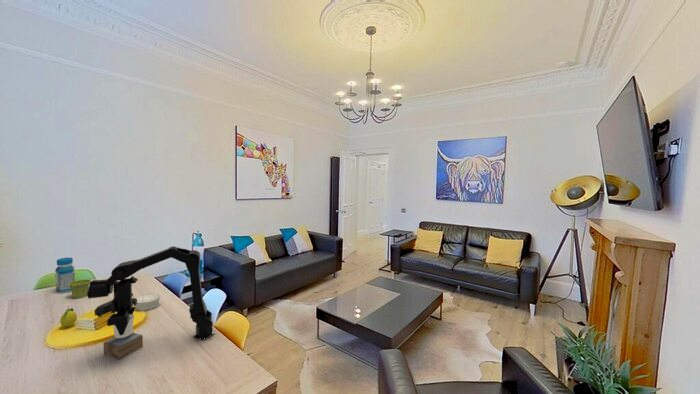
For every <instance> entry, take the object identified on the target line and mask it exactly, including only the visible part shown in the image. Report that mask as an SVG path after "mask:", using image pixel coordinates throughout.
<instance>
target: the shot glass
mask: <svg viewBox="0 0 700 394" xmlns="http://www.w3.org/2000/svg"><path fill="white" fill-rule="evenodd" d="M134 318H135V315H134V314H133V315H132V314H130V320H129V322H128V325H127V327H126V329H125V332H124V334H123V335H120V334H119V332H118V330H117V328H116V326H115V325H112V326H113V333H114V337H115V338H123V337H127V336H129V335H130V334H132V333H133V329H134Z"/></svg>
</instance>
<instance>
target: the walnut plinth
mask: <svg viewBox="0 0 700 394" xmlns="http://www.w3.org/2000/svg"><path fill="white" fill-rule="evenodd" d="M143 337H144V336H143V334H139V333H135V332H132V334H130V335H129V336H127V337H123V338H115V336H114V337H112V338H110V339H108V340H106V341H104V342H103V355H104V356H107V357H111V358H114V359H116V360H122V359H123V358H125V357H127V356H129V355H131V354H132V353H133V352H136V351H137V350H139V349H141V348H142V347H144V346H143V345H144V344H143V343H144V341H143Z"/></svg>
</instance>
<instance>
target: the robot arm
mask: <svg viewBox="0 0 700 394" xmlns="http://www.w3.org/2000/svg"><path fill="white" fill-rule="evenodd" d="M167 259H175V260H177V262H181V263H183V264H185V267H186V269H187V271H188V273H189V281H190V287H191V288H190V289H191V296H192V302H193V303H191V304H189V305H190V306H189V309H188V311H189V315H190V317H189V319H190V320H191V321H192V322H193V323H195V335H193V338H194V337H196V338H195V339H198V338H201V339H200V340H202V339H204V338H205V340H207V339H209V338H210V337H211V336H212V335H211V334H212V331H213V327H214V326H213V324H214V323H213V321H212V320H213V319H212V316H213V315H212V314H213V313H212V312H211V311H210V310H208V308H207V305H206V302H205V300H204V298H203V291H202V282H201V275H200V264H201V252H199V251H198V250H197V249H196V250H195V249H191V250H190V249H186V248H181V247H176V246H170V247H168V248H166V249H163V250H161V251H158V252H155V253H152V254H150V255H147V256H144V257H142V258H140V259H136V260H135V259H133V260H127V261H123V262H120V263H119V264H118V265H116V266H115V267H114V268H113V269H112V270H111V275H110V276H109V277H108V278H107V279H106V278H105V279H94V280H91V282H90V284H89V288H88V292H87V296H86V297H87V298H88V299H89V300H90V299H97V298H104V297H105V298H106V297H109V296H110V294H113V299H111V300H109V301H107V302H105V303H101V304H100V305H98V306H97V307H96V308H94V316H97V318H101V317H103V316H104V315H106V314H108V313H111V315H110V316H109V317H108V318H107V320H106V326H107V327H111V326H113V325H115V326H116V328H117V330H118V332H119V334H120V335H123V334H124V332H125V329H126V327H127V325H128V322H129V320H130V314H132V315H134V312H135V309H137V308H136V305H137V298H135V297H134V293H133V288H132V287H133V285H132V284H136V282H138V280H139V279H138V278H137V277H134V274H136V273H137V272H139V271H140V270H142V269H145V268H148V267H150V266H153V265H155V264H159V263H160V262H163V261H165V260H167ZM210 335H211V336H210ZM209 336H210V337H209ZM206 338H207V339H206Z"/></svg>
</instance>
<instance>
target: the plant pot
mask: <svg viewBox="0 0 700 394" xmlns="http://www.w3.org/2000/svg"><path fill="white" fill-rule="evenodd" d="M91 281H92V280H91V279H88V278H86V279H78V280H75V281H73V282H71V283H69V284H68V285H69V286H70V288H71V291H70V292H71V295H72V299H81V298H85V297H88V296H87V292H88V288H89V286H90V282H91Z"/></svg>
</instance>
